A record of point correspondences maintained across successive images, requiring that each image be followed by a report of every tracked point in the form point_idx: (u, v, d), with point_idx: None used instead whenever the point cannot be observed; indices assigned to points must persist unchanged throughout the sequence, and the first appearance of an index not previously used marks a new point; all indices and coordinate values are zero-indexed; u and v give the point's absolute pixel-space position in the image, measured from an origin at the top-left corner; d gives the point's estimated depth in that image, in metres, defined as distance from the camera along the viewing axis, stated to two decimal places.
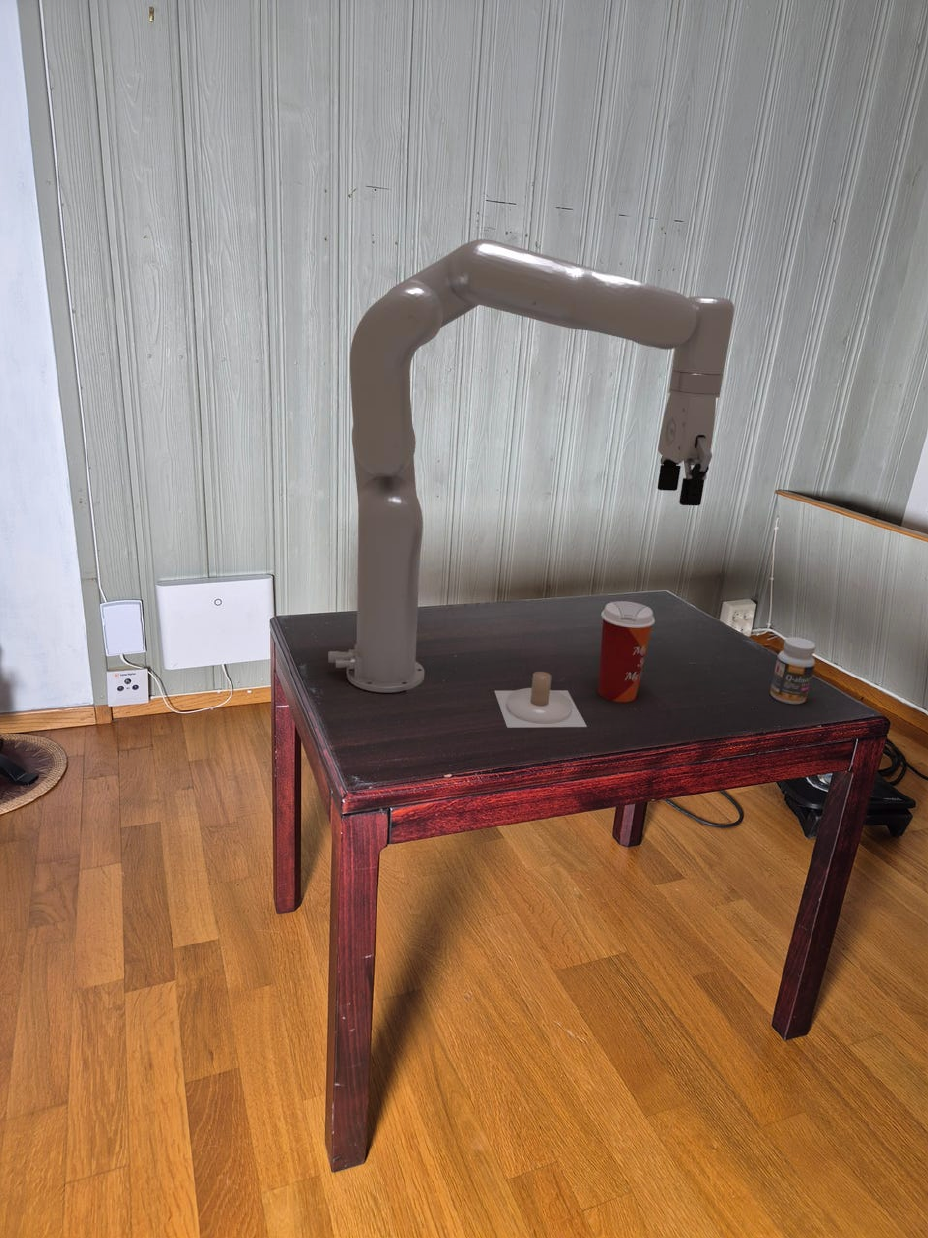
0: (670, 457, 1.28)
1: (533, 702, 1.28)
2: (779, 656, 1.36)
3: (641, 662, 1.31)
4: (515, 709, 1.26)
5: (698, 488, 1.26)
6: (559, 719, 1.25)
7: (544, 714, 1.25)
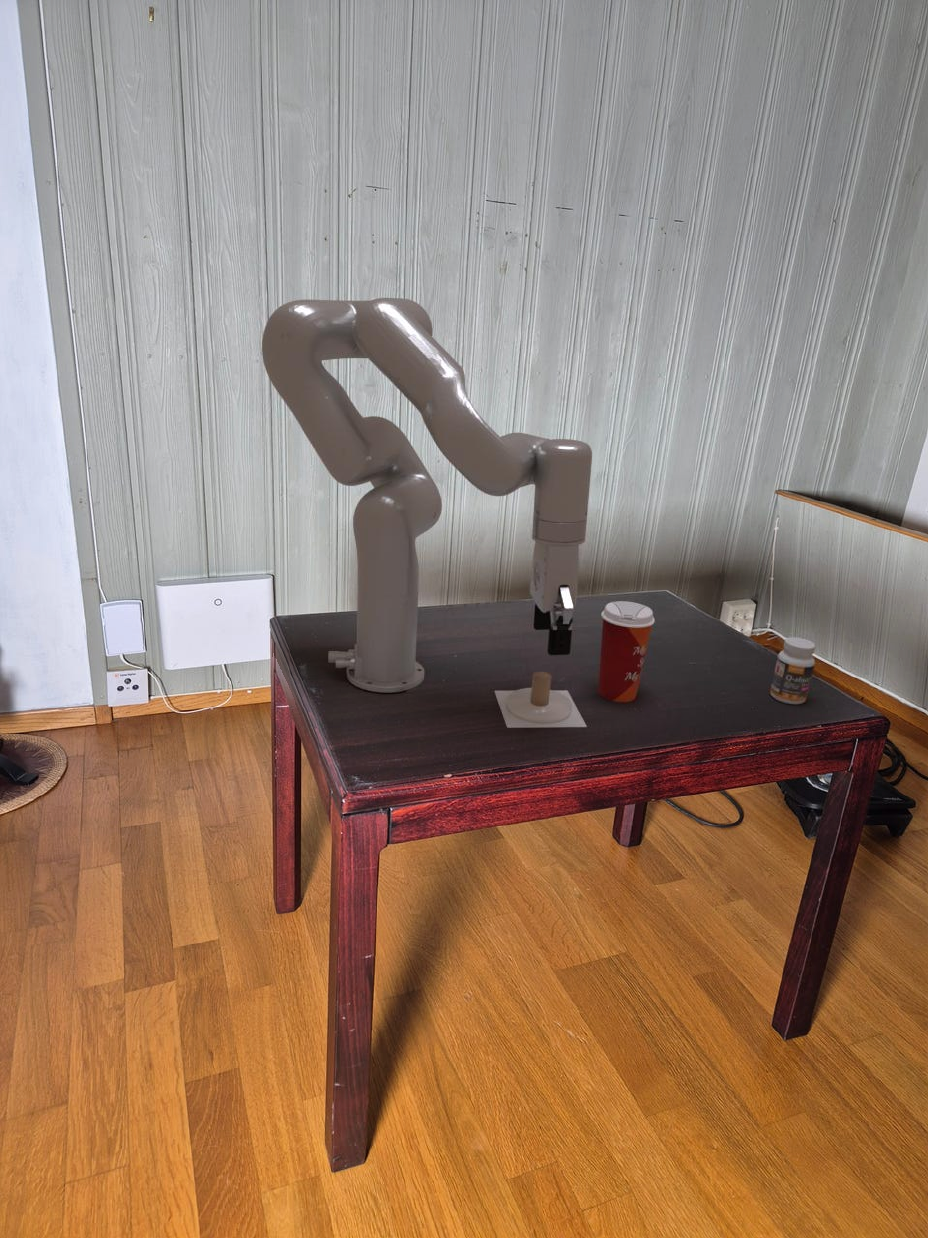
0: (537, 604, 1.21)
1: (533, 702, 1.28)
2: (779, 656, 1.36)
3: (641, 662, 1.31)
4: (515, 709, 1.26)
5: (565, 639, 1.18)
6: (559, 719, 1.25)
7: (544, 714, 1.25)
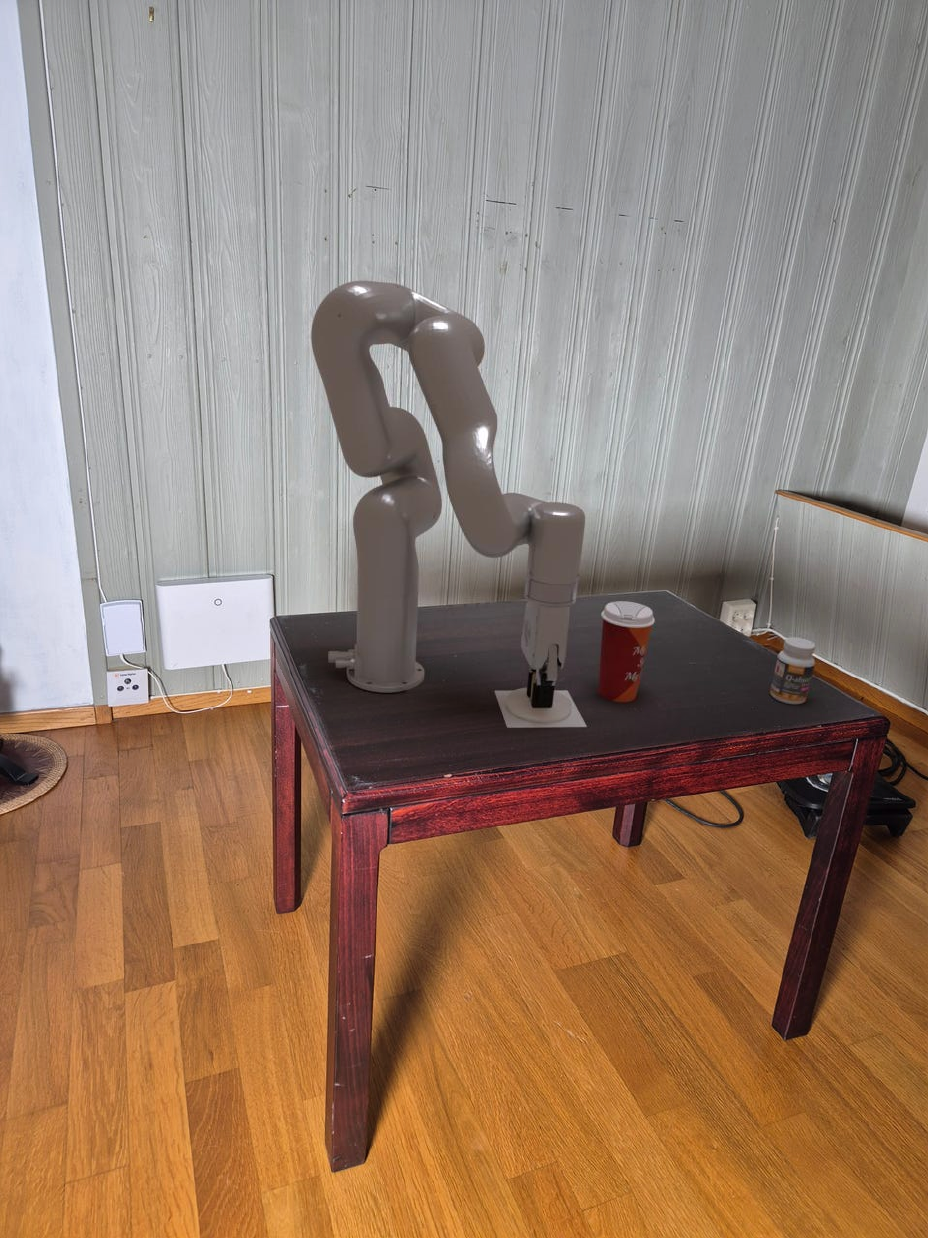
0: (527, 660, 1.24)
1: None
2: (779, 656, 1.36)
3: (641, 662, 1.31)
4: (515, 708, 1.26)
5: (548, 693, 1.25)
6: (559, 718, 1.25)
7: (544, 713, 1.25)
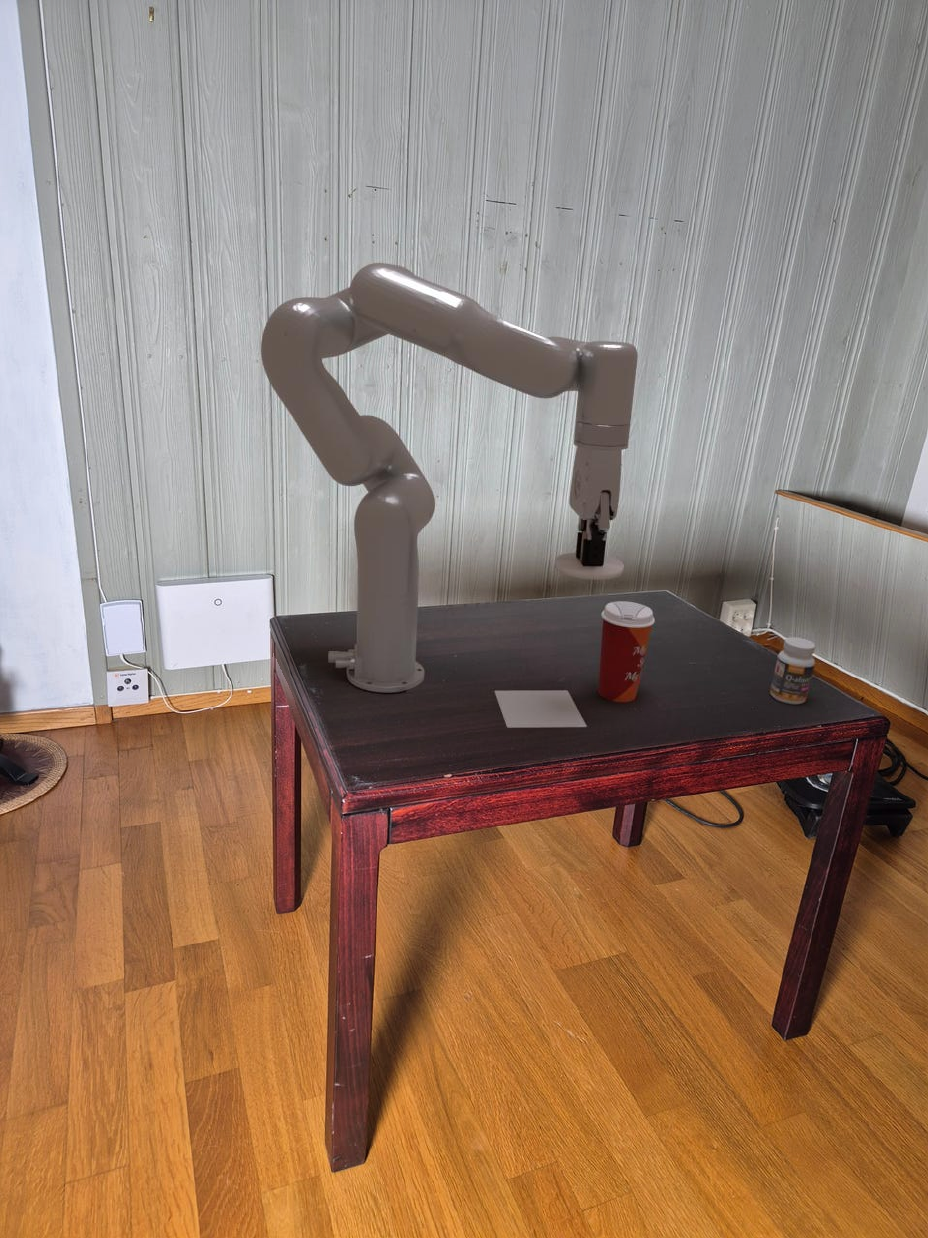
0: (577, 513, 1.18)
1: None
2: (779, 656, 1.36)
3: (641, 662, 1.31)
4: (565, 566, 1.20)
5: (599, 549, 1.19)
6: (611, 575, 1.19)
7: (595, 570, 1.19)
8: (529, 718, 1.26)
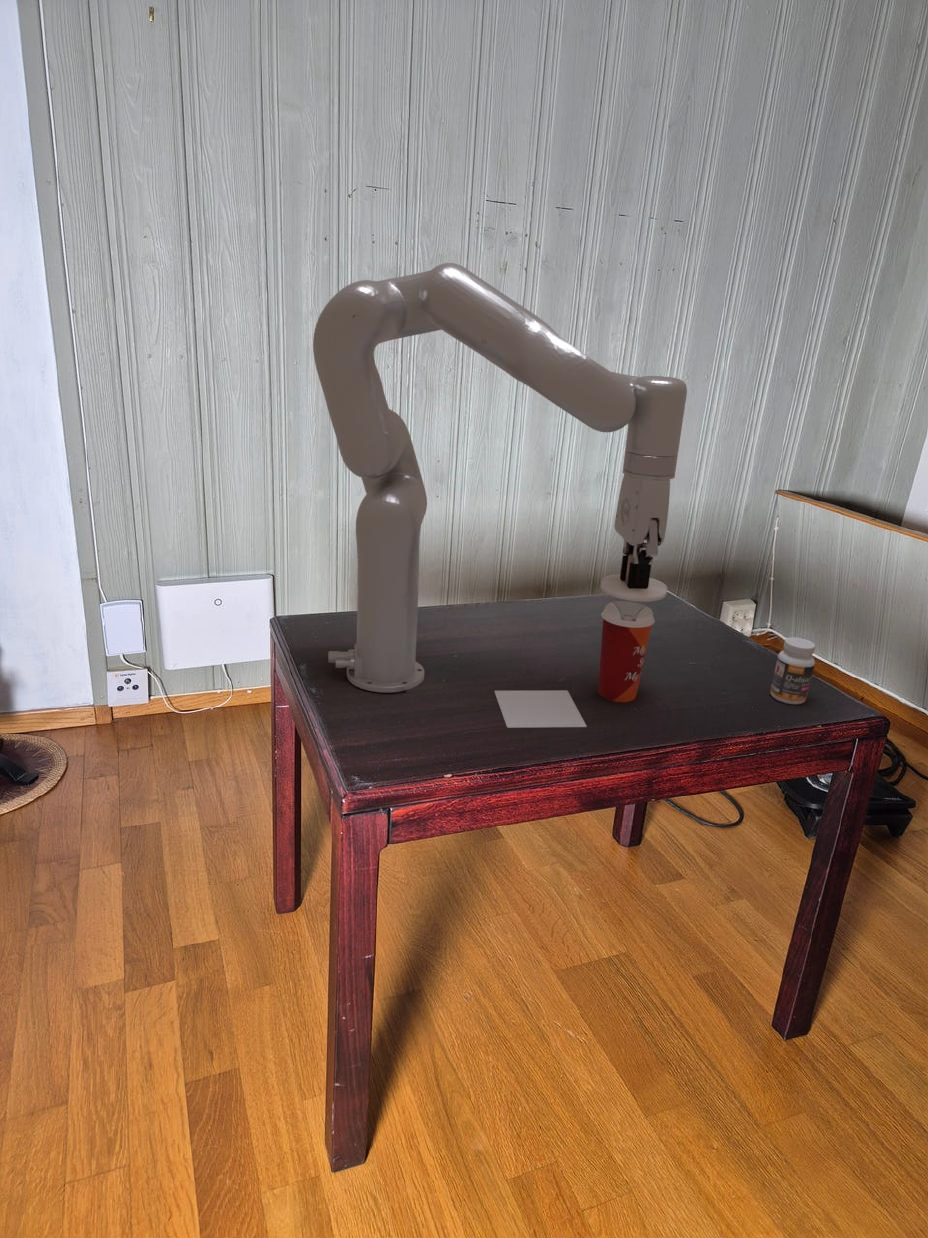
0: (625, 538, 1.24)
1: None
2: (779, 656, 1.36)
3: (641, 662, 1.31)
4: (612, 589, 1.26)
5: (645, 573, 1.25)
6: (657, 597, 1.25)
7: (642, 592, 1.25)
8: (529, 718, 1.26)
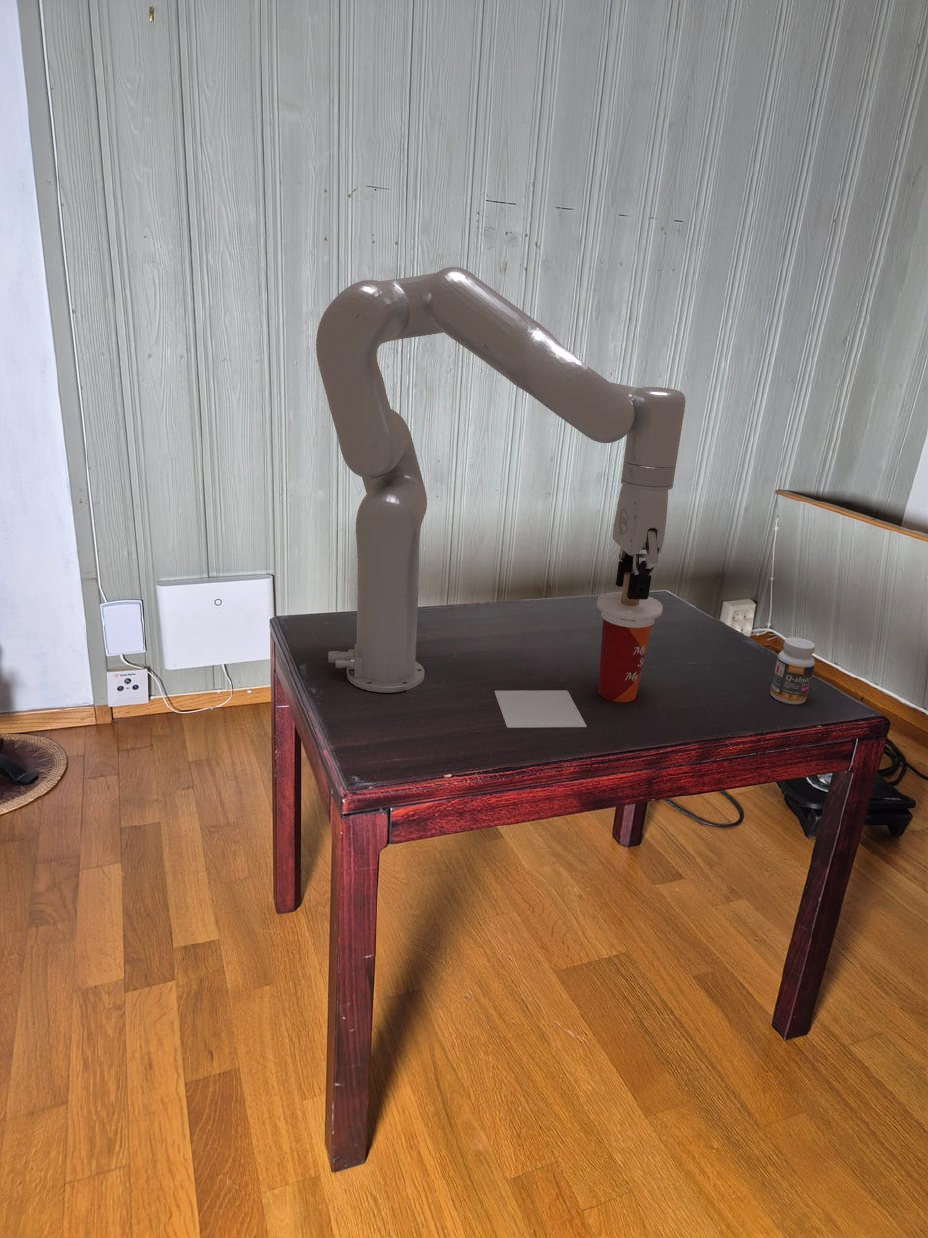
0: (623, 548, 1.25)
1: (624, 602, 1.29)
2: (779, 656, 1.36)
3: (641, 662, 1.31)
4: (608, 607, 1.27)
5: (645, 583, 1.25)
6: (652, 616, 1.26)
7: (637, 611, 1.26)
8: (529, 718, 1.26)
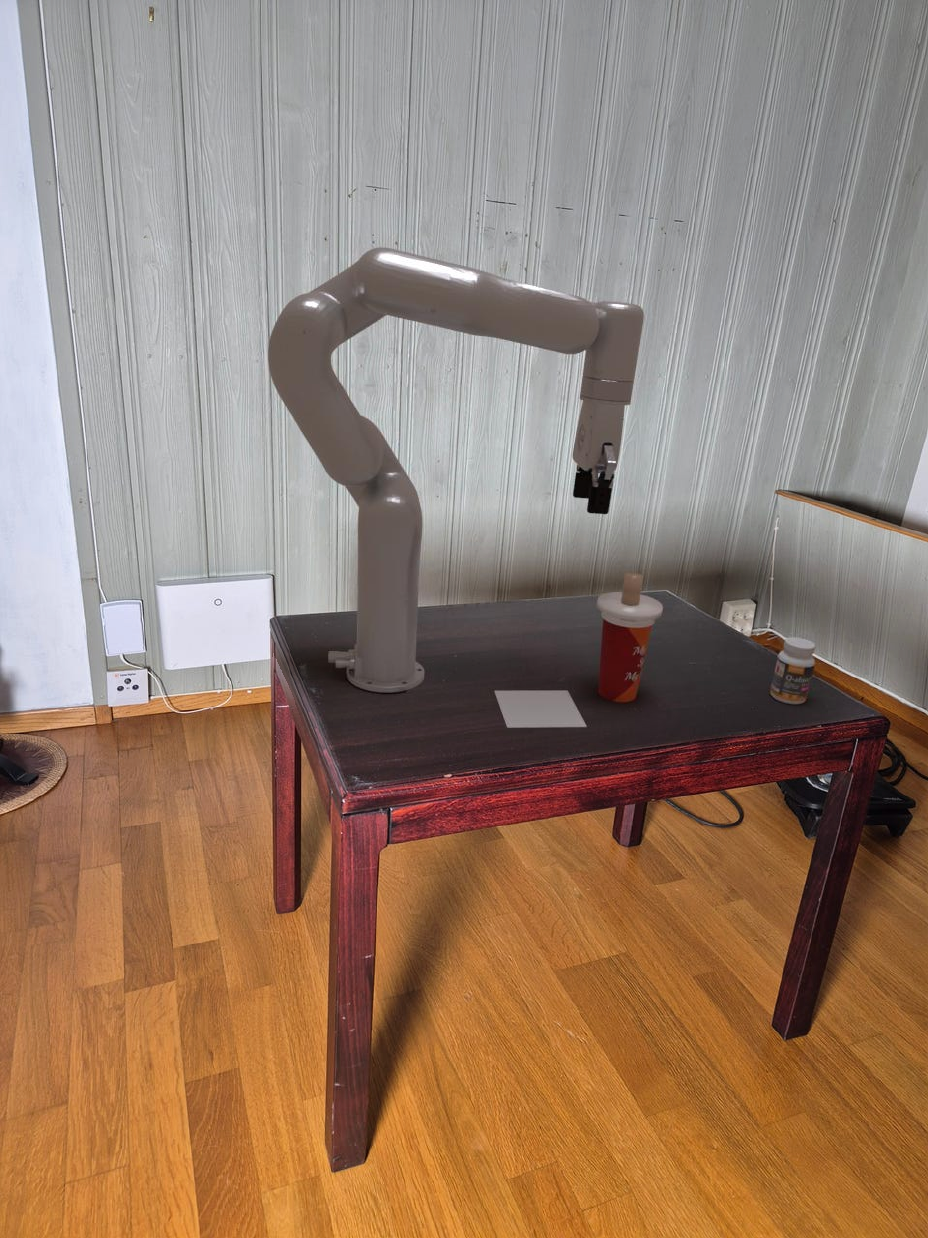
0: (580, 464, 1.25)
1: (624, 602, 1.29)
2: (779, 656, 1.36)
3: (641, 662, 1.31)
4: (608, 607, 1.27)
5: (605, 496, 1.23)
6: (652, 616, 1.26)
7: (637, 611, 1.26)
8: (529, 718, 1.26)
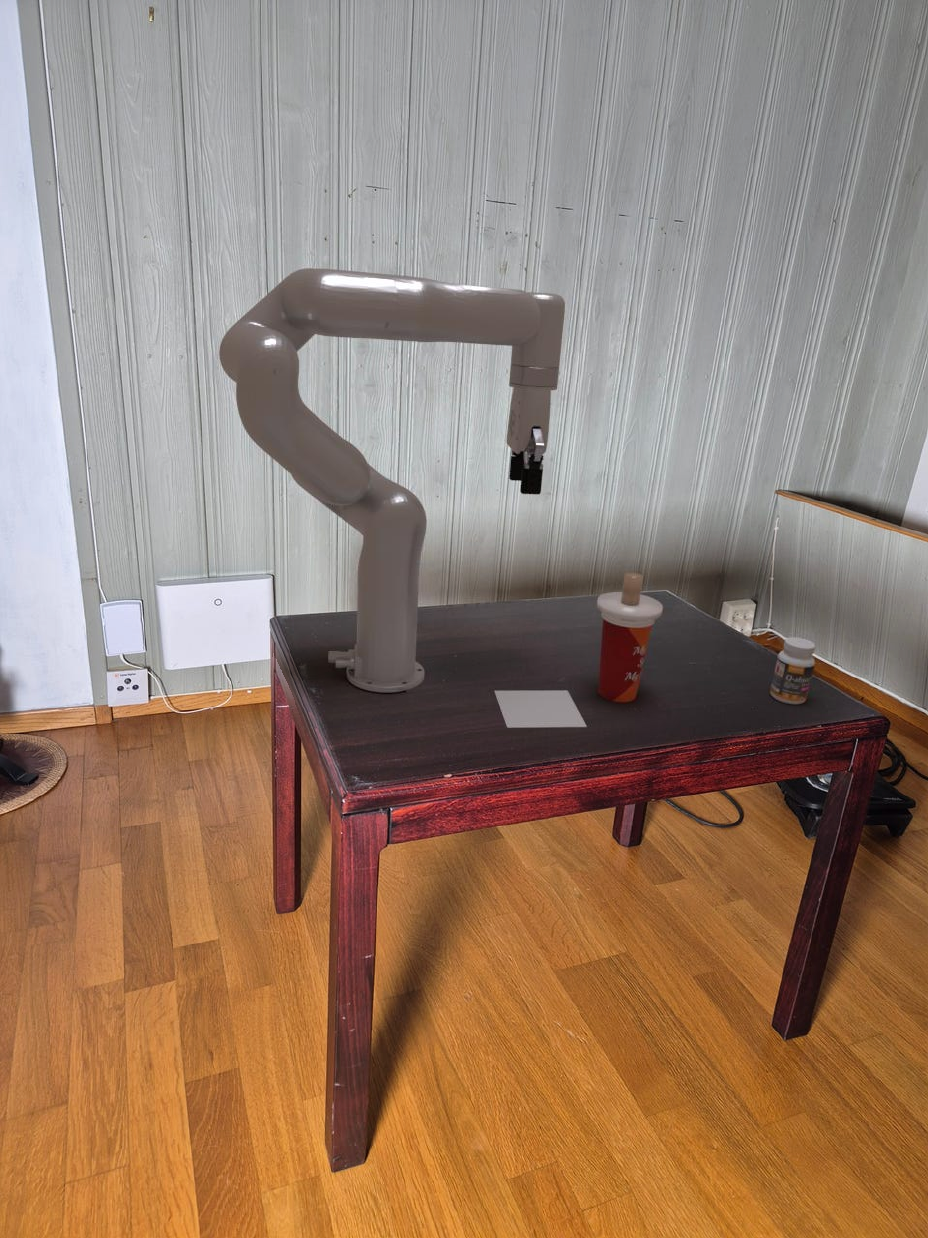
0: (512, 448, 1.32)
1: (624, 602, 1.29)
2: (779, 656, 1.36)
3: (641, 662, 1.31)
4: (608, 607, 1.27)
5: (536, 477, 1.30)
6: (652, 616, 1.26)
7: (637, 611, 1.26)
8: (529, 718, 1.26)
